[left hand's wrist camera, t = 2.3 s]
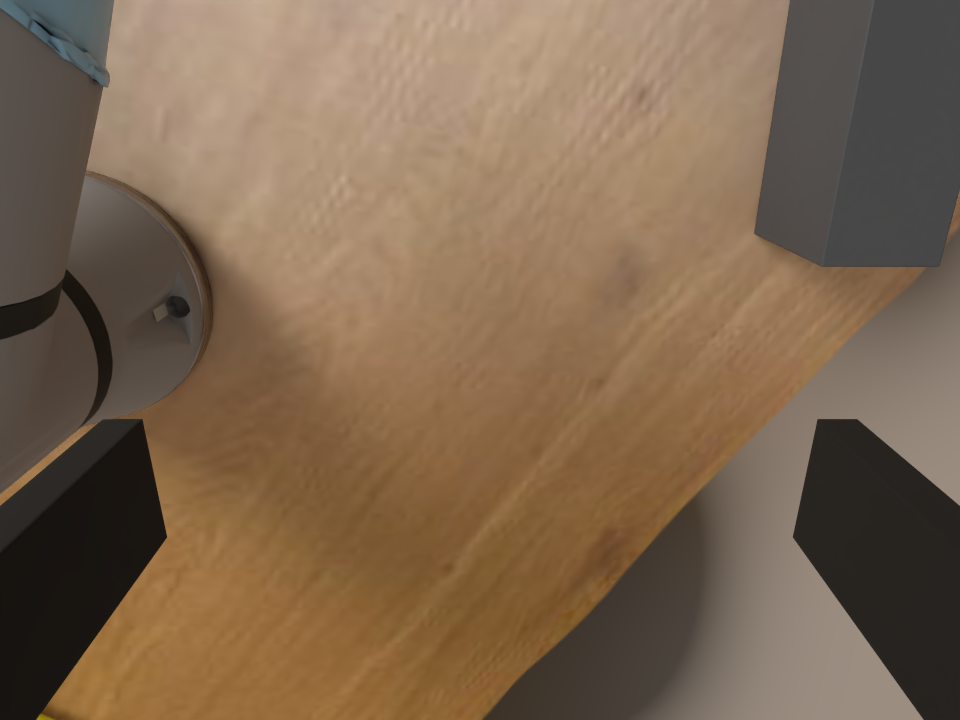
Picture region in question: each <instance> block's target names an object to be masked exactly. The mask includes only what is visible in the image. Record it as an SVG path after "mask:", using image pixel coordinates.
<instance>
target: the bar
mask: <svg viewBox="0 0 960 720" xmlns="http://www.w3.org/2000/svg"><path fill="white" fill-rule="evenodd" d="M959 189H960V0H790V6H789V13H788V19H787V26H786V32H785V39H784V45H783V51H782V58H781V64H780V71H779V77H778V84H777V90H776V97H775V103H774V110H773V116H772V123H771V129H770V136H769V142H768V148H767V155H766V161H765V168H764V174H763V181H762V187H761V194H760V200H759V207H758V213H757V220H756V226H755V232H754V233H755V234H756V235H758V236H760V237H762V238H764V239H766V240H768V241H770V242H772V243H774V244H776V245H778V246H781V247H783V248H785V249H787V250H789V251H791V252H793V253H795V254H797V255H799V256H801V257H803V258H805V259H807V260H809V261H811V262H814V263H816V264H818V265H820V266H822V267H938V266H939V265H940V262H941V258H942V254H943V250H944V246H945V243H946V239H947V235H948V231H949V227H950V224H951V220H952V216H953V212H954V208H955V205H956V201H957V197H958V193H959Z"/></svg>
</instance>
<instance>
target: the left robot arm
mask: <svg viewBox="0 0 960 720" xmlns="http://www.w3.org/2000/svg"><path fill="white" fill-rule="evenodd" d="M113 4H114V0H0V494H1V493H2V492H3V491H5V490H6V489H7V488H8V487H9V486H11V485H12V484H13V483H14V482H15V481H17V480H18V479H19V478H20V477H21V476H23V475H24V474H25V473H26V472H28V471H29V470H30V469H31V468H32V467H34V466H35V465H36V464H37V463H38V462H40V461H41V460H42V459H43V458H44V457H46V456H47V455H48V454H49V453H50V452H52V451H53V450H54V449H55V448H56V447H58V446H59V445H60V444H61V443H62V442H64V441H65V440H66V439H67V438H69V437H70V436H71V435H72V434H73V433H74V432H76V431H77V430H78V429H79V428H80V427H83V426H87V425H90V424H94V423H98V422H99V423H98V424H97V425H96V426H94V427H93V428H92V429H91V430H90V431H88V432H87V433H86V434H85V435H84V436H83V437H81V438H80V439H79V440H78V441H77V442H75V443H74V444H73V445H72V446H71V447H69V448H68V449H67V450H66V451H65V452H64V453H62V454H61V455H60V456H59V457H58V458H56V459H55V460H54V461H53V462H52V463H51V464H49V465H48V466H47V467H46V468H45V469H43V470H42V471H41V472H40V473H39V474H38V475H36V476H35V477H34V478H33V479H32V480H30V481H29V482H28V483H27V484H26V485H25V486H23V487H22V488H21V489H20V490H19V491H17V492H16V493H15V494H14V495H13V496H11V497H10V498H9V499H8V500H7V501H6V502H4V503H3V504H2V505H1V506H0V720H36V719H37V718H38V717H39V715H40V714H41V712H42V711H43V710H44V708H45V707H46V705H47V704H48V703H49V701H50V700H51V698H52V697H53V696H54V694H55V693H56V692H57V690H58V689H59V687H60V686H61V685H62V683H63V682H64V680H65V679H66V678H67V676H68V675H69V673H70V672H71V671H72V669H73V668H74V666H75V665H76V664H77V662H78V661H79V659H80V658H81V657H82V655H83V654H84V652H85V651H86V650H87V648H88V647H89V645H90V644H91V643H92V641H93V640H94V638H95V637H96V636H97V634H98V633H99V632H100V630H101V629H102V627H103V626H104V625H105V623H106V622H107V620H108V619H109V618H110V616H111V615H112V613H113V612H114V611H115V609H116V608H117V606H118V605H119V604H120V602H121V601H122V599H123V598H124V597H125V595H126V594H127V592H128V591H129V590H130V588H131V587H132V585H133V584H134V583H135V581H136V580H137V579H138V577H139V576H140V574H141V573H142V572H143V570H144V569H145V567H146V566H147V565H148V563H149V562H150V560H151V559H152V558H153V556H154V555H155V553H156V552H157V551H158V549H159V548H160V546H161V545H162V544H163V542H164V541H165V539H166V538H167V534H166V530H165V525H164V520H163V515H162V511H161V506H160V501H159V496H158V492H157V487H156V482H155V477H154V473H153V468H152V463H151V458H150V454H149V449H148V444H147V439H146V435H145V430H144V425H143V420H142V419H113V418H117V417H121V416H124V415H128V414H131V413H134V412H137V411H140V410H142V409H144V408H146V407H148V406H150V405H152V404H154V403H156V402H158V401H160V400H161V399H163V398H164V397H166V396H167V395H168V394H170V393H171V392H172V391H173V390H174V389H175V388H176V387H177V386H179V385H180V384H181V383H182V382H183V381H184V380H185V379H186V378H187V377H188V376H189V375H190V374H191V372H192V371H193V370H194V369H195V367H196V366H197V364H198V363H199V361H200V359H201V358H202V355H203V353H204V351H205V349H206V346H207V343H208V340H209V336H210V332H211V325H212V300H211V293H210V288H209V283H208V280H207V277H206V273H205V271H204V268H203V266H202V263H201V261H200V259H199V257H198V255H197V253H196V251H195V249H194V248H193V246H192V244H191V243H190V241H189V240H188V238H187V237H186V235H185V234H184V233H183V231H182V230H181V229H180V228H179V226H178V225H177V224H176V223H175V222H174V221H173V220H172V219H171V217H170V216H169V215H167V214H166V213H165V212H164V211H163V210H162V209H161V208H160V207H159V206H158V205H156V204H155V203H154V202H152V201H151V200H150V199H149V198H147V197H146V196H144V195H143V194H141V193H140V192H138V191H137V190H135V189H133V188H131V187H129V186H128V185H126V184H124V183H122V182H119V181H117V180H115V179H113V178H110V177H107V176H104V175H101V174H98V173H94V172H90V171H86V168H87V163H88V158H89V153H90V148H91V143H92V139H93V134H94V129H95V124H96V119H97V114H98V110H99V105H100V100H101V95H102V90H103V86H104V87H107V88H108V86H109V82H110V79H109V73H108V71H107V69H106V67H105V66H106V56H107V48H108V41H109V33H110V26H111V19H112V12H113ZM793 538H794V539H795V541H796V542H797V543H798V545H799V546H800V548H801V549H802V551H803V552H804V553H805V555H806V556H807V558H808V559H809V560H810V562H811V563H812V565H813V566H814V567H815V569H816V570H817V572H818V573H819V574H820V576H821V577H822V578H823V580H824V581H825V583H826V584H827V585H828V587H829V588H830V590H831V591H832V592H833V594H834V595H835V597H836V598H837V599H838V601H839V602H840V603H841V605H842V606H843V608H844V609H845V611H846V612H847V613H848V615H849V616H850V617H851V619H852V620H853V622H854V623H855V625H856V626H857V627H858V629H859V630H860V631H861V633H862V634H863V636H864V637H865V638H866V640H867V641H868V643H869V644H870V645H871V647H872V648H873V650H874V651H875V652H876V654H877V655H878V657H879V658H880V659H881V661H882V662H883V664H884V665H885V666H886V668H887V669H888V671H889V672H890V673H891V675H892V676H893V677H894V679H895V680H896V682H897V683H898V685H899V686H900V687H901V689H902V690H903V691H904V693H905V694H906V696H907V697H908V698H909V700H910V701H911V703H912V704H913V705H914V707H915V708H916V710H917V711H918V712H919V714H920V715H921V717H922V718H923V719H924V720H960V506H959V505H958V504H957V503H956V502H954V501H953V500H952V499H951V498H950V497H949V496H947V495H946V494H945V493H944V492H942V491H941V490H940V489H939V488H938V487H937V486H935V485H934V484H933V483H932V482H931V481H930V480H928V479H927V478H926V477H925V476H924V475H922V474H921V473H920V472H919V471H918V470H917V469H915V468H914V467H913V466H912V465H911V464H909V463H908V462H907V461H906V460H905V459H904V458H902V457H901V456H900V455H899V454H898V453H896V452H895V451H894V450H893V449H892V448H890V447H889V446H888V445H887V444H886V443H885V442H883V441H882V440H881V439H880V438H879V437H877V436H876V435H875V434H874V433H873V432H872V431H870V430H869V429H868V428H867V427H866V426H864V425H863V424H862V423H861V422H860V421H858V420H857V419H818V420H817V425H816V430H815V435H814V440H813V444H812V449H811V454H810V458H809V463H808V468H807V473H806V477H805V482H804V487H803V492H802V497H801V501H800V506H799V511H798V515H797V520H796V525H795V530H794V534H793Z"/></svg>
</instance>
